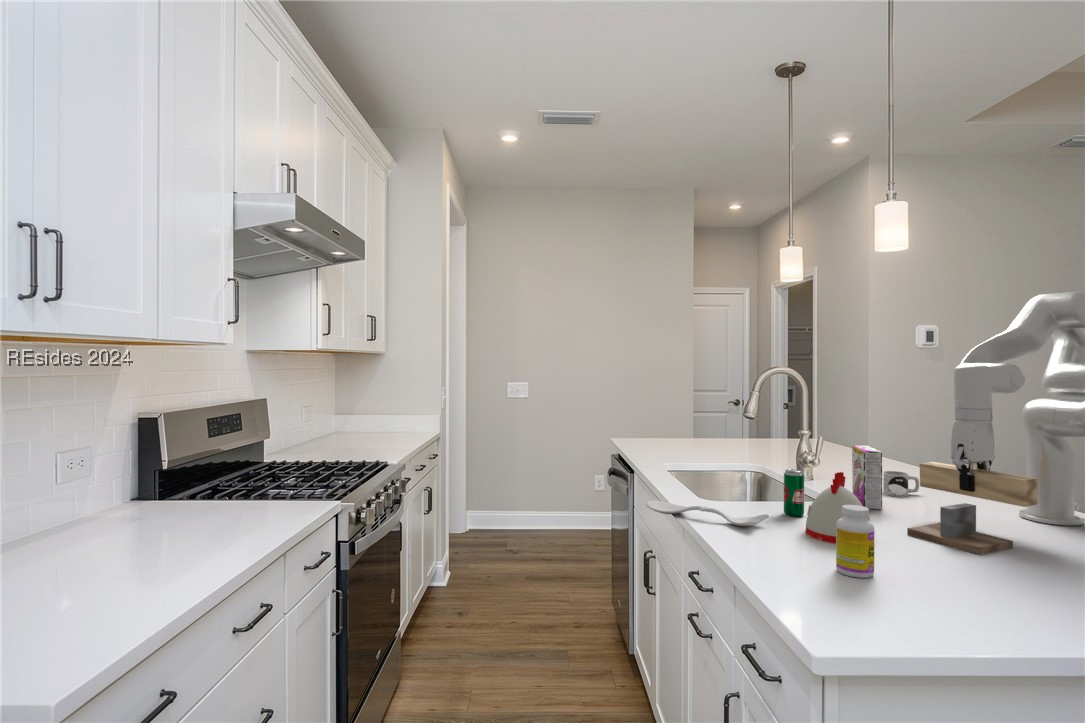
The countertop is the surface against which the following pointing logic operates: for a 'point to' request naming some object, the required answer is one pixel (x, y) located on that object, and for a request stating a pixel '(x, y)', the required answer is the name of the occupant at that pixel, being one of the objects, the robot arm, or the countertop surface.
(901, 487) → the mug
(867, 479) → the candy bar box
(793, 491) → the soda can
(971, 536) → the walnut stand
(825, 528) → the kitchen timer
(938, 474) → the oak beam
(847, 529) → the supplement bottle
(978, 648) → the countertop surface
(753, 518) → the spoon
